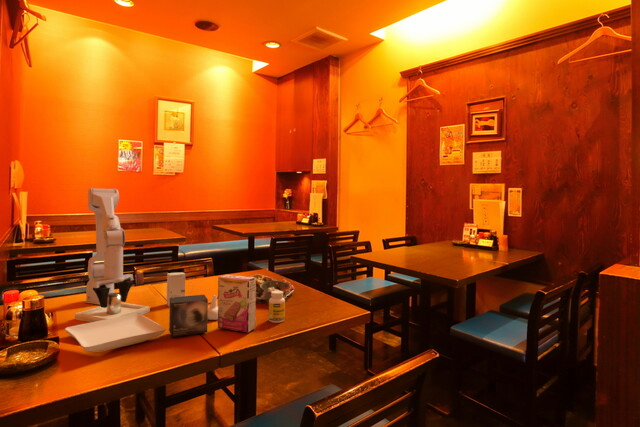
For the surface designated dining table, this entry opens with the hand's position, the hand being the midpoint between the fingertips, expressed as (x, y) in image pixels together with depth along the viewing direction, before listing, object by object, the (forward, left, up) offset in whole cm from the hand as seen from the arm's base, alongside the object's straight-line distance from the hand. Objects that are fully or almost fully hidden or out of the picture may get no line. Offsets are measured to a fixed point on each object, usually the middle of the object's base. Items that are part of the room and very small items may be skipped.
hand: (113, 304), depth 128 cm
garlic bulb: (+33, +11, -4) cm, 35 cm away
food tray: (+37, +38, -5) cm, 53 cm away
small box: (+34, -3, -4) cm, 34 cm away
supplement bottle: (+54, +17, -4) cm, 57 cm away
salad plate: (+18, -15, -4) cm, 24 cm away
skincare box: (+10, +19, -4) cm, 22 cm away
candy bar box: (+46, +5, -4) cm, 46 cm away
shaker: (0, 0, -3) cm, 3 cm away
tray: (0, 0, -4) cm, 4 cm away
